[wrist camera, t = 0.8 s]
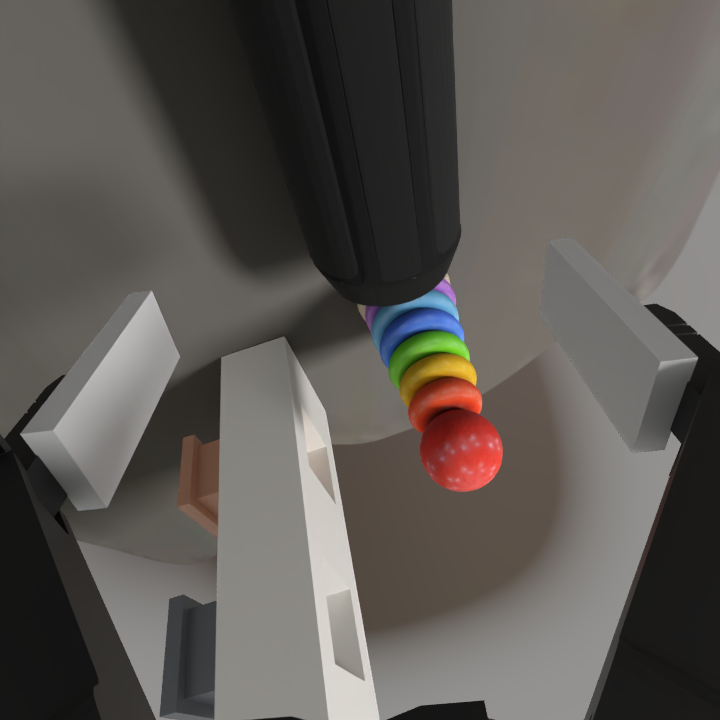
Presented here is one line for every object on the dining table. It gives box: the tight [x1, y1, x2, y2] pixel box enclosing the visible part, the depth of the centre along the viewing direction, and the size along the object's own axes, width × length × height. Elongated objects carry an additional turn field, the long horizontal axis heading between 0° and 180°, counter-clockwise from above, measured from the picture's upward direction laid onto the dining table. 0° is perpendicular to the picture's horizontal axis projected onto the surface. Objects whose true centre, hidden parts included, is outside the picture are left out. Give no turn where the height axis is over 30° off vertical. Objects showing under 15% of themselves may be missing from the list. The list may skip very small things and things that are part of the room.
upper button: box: [160, 595, 217, 720], centre depth 32 cm, size 8×7×6 cm
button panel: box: [214, 336, 379, 720], centre depth 36 cm, size 12×6×30 cm, turn 15°
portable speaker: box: [228, 0, 461, 307], centre depth 23 cm, size 26×10×10 cm, turn 11°
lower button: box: [177, 435, 220, 538], centre depth 41 cm, size 8×7×6 cm
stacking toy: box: [357, 274, 503, 492], centre depth 34 cm, size 8×8×19 cm
